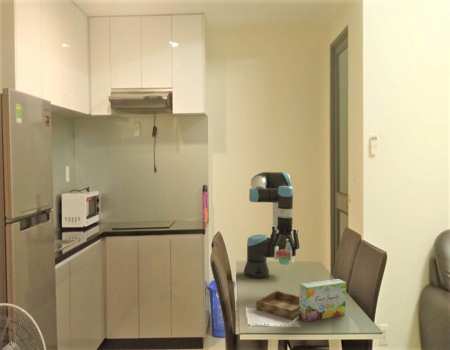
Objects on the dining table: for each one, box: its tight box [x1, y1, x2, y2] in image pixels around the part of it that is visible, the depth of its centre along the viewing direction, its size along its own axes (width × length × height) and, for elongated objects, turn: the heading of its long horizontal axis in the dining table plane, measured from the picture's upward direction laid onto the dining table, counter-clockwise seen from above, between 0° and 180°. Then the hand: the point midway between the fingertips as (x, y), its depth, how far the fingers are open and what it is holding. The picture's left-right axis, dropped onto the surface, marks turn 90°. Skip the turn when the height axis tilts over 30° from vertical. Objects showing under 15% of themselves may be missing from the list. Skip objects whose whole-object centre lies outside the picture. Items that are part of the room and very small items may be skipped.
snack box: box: [298, 278, 347, 323], centre depth 164 cm, size 21×6×15 cm, turn 114°
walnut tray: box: [256, 290, 300, 321], centre depth 173 cm, size 18×18×4 cm
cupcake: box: [276, 241, 290, 265], centre depth 192 cm, size 9×8×12 cm
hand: (284, 260), depth 193 cm, fingers closed on cupcake, 8 cm apart
